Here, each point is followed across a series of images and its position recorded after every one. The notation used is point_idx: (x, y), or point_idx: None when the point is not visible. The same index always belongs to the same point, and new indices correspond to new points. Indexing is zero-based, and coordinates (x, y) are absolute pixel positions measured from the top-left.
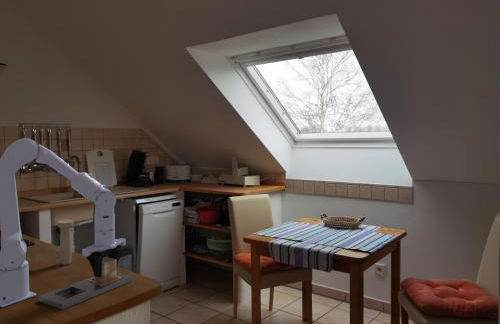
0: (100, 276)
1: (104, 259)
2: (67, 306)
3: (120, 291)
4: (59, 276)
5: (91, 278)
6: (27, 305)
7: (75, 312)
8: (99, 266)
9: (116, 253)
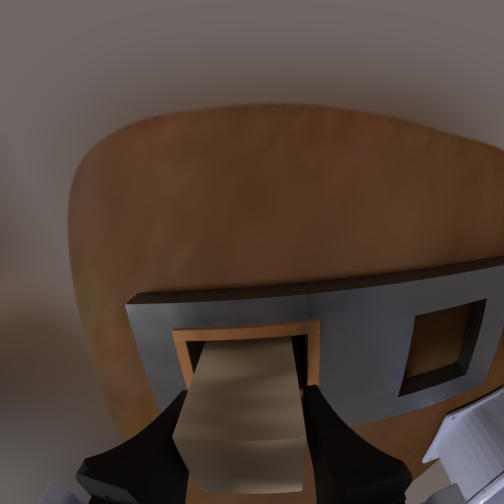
0: (306, 386)
1: (241, 478)
2: (494, 259)
3: (270, 222)
4: (300, 491)
5: None
6: (495, 364)
7: (499, 195)
8: (337, 427)
9: (151, 476)
